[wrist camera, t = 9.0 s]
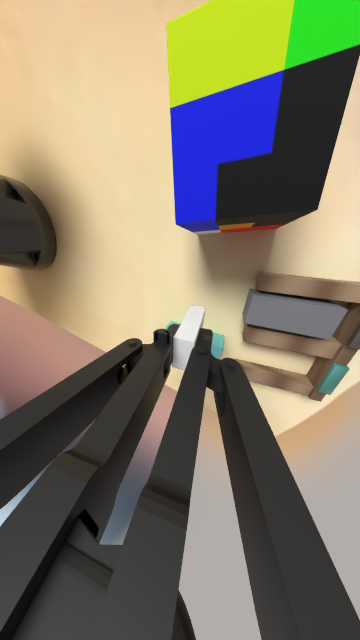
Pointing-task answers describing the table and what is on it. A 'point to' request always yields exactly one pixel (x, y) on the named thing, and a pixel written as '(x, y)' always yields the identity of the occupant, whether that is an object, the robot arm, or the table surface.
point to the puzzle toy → (257, 108)
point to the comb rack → (308, 337)
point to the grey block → (293, 313)
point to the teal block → (216, 342)
